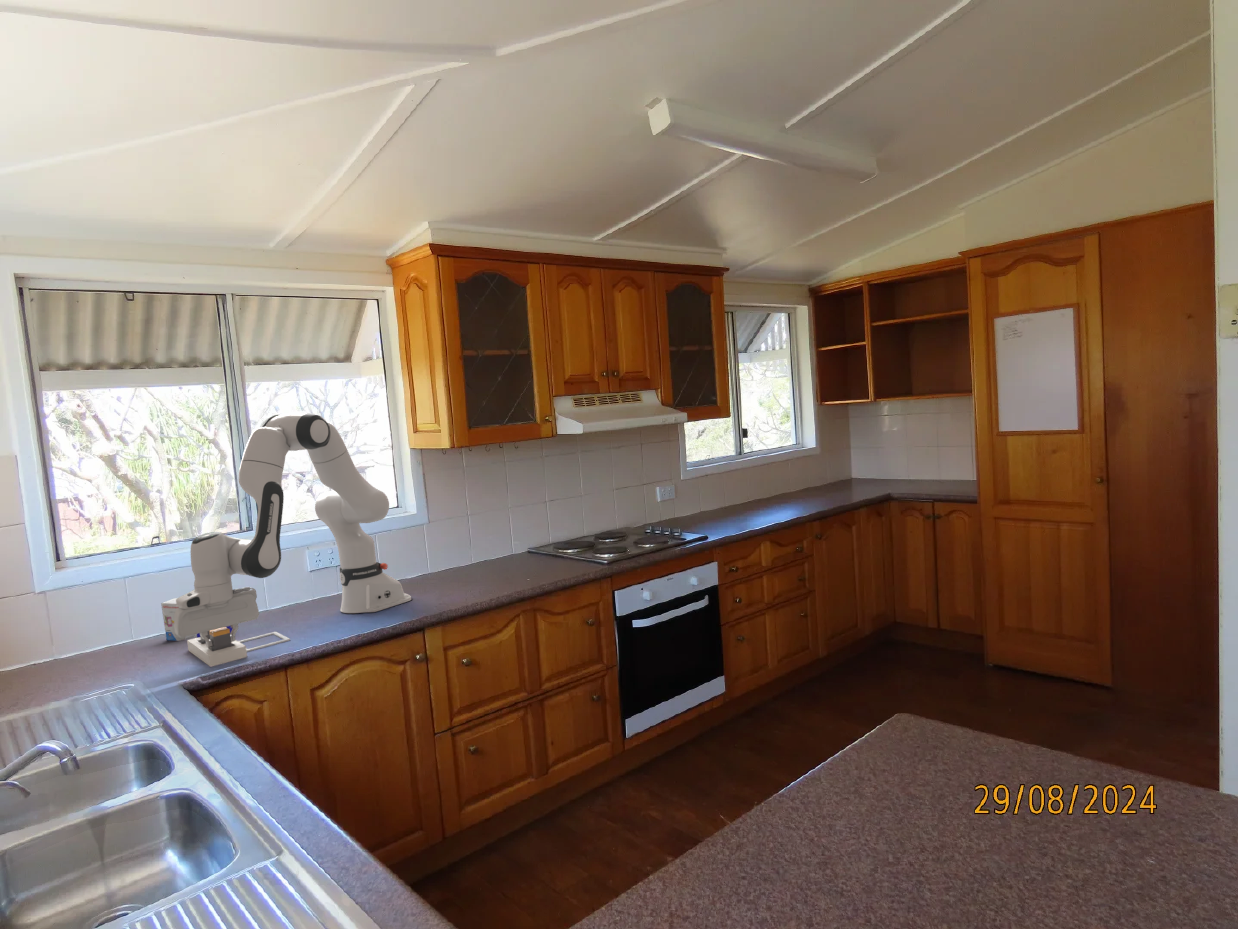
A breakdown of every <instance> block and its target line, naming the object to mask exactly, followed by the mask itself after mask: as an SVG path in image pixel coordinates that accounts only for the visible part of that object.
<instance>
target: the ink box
mask: <svg viewBox="0 0 1238 929" xmlns="http://www.w3.org/2000/svg"><path fill="white" fill-rule="evenodd" d="M177 598H178V597H174V598H172V599H169V600H166V601H164V602H161V603H160V604H161V611H162V617H163V625H164V631H165V638H166V640H167V641H174V642H175V641H178V642H180V641H183V640H184V641H185V640H190V639H194V638H197V634H194V635H190V636H186V637H179V636H178V635H176V634H175V630H174V614H175V611H176V609H177V608H179V607H178V606H177V604H176V599H177Z"/></svg>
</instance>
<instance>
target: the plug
mask: <svg viewBox="0 0 1238 929" xmlns="http://www.w3.org/2000/svg"><path fill="white" fill-rule="evenodd" d="M209 634H210V639H212V640H213V644H214V646H213V647H211V649H212V651H216V650H220V649H224V648H228V647H231V646H232V644H231V637H230V634H231V633H230V629H228V628H226V627H223V628H219V629H214V630H210V631H209Z"/></svg>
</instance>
